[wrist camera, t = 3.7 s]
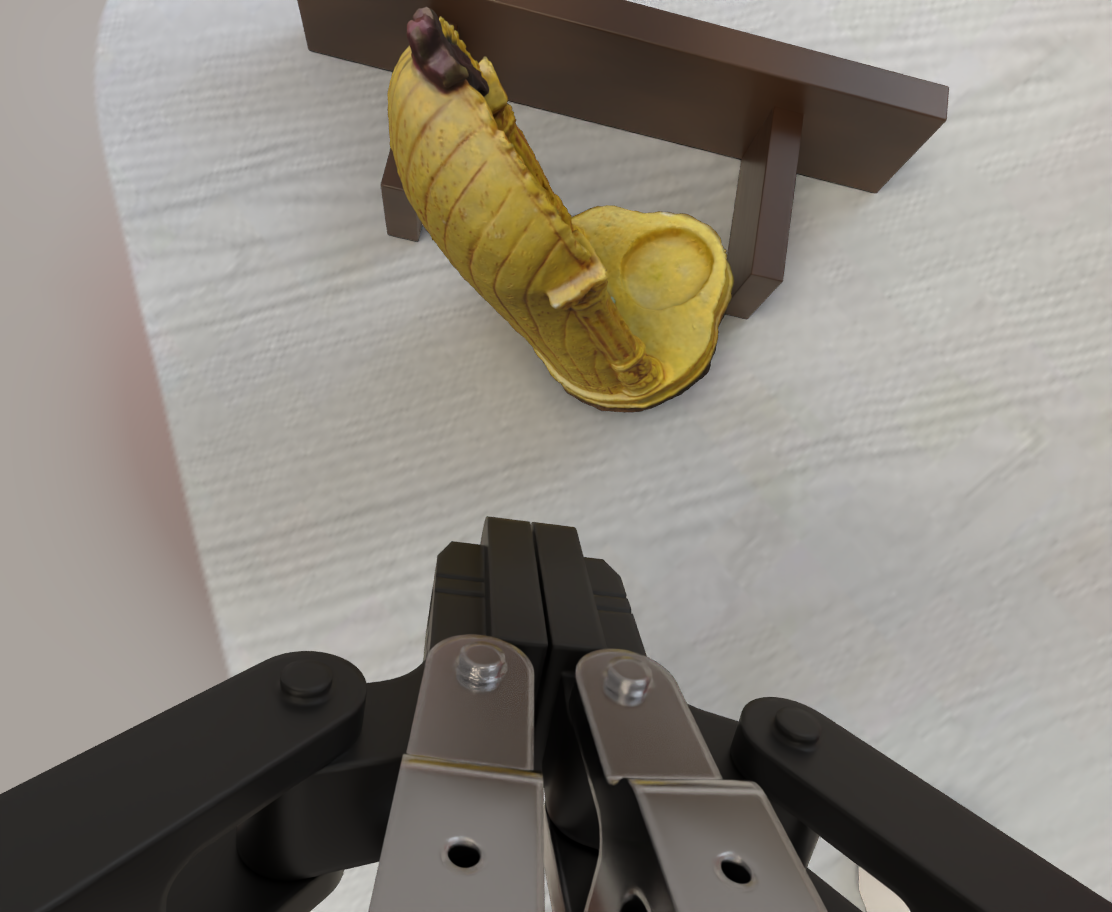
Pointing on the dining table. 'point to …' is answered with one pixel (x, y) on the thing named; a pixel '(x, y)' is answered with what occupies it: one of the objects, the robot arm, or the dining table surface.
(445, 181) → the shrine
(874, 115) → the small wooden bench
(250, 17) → the dining table surface
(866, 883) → the white jar
